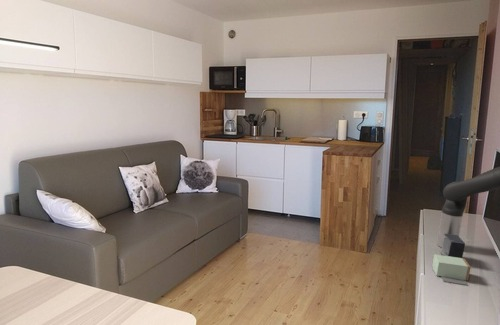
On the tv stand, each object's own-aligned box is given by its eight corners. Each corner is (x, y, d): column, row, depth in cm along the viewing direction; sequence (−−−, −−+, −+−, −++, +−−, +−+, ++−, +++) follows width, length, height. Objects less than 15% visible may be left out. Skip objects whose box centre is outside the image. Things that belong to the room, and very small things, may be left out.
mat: (435, 266, 168) (435, 265, 168) (457, 269, 167) (457, 269, 166) (443, 281, 155) (443, 280, 155) (467, 285, 153) (468, 284, 153)
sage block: (462, 271, 164) (432, 267, 167) (464, 258, 163) (434, 254, 166) (468, 280, 157) (436, 275, 159) (470, 266, 155) (438, 262, 158)
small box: (462, 265, 171) (466, 243, 169) (446, 263, 173) (450, 241, 170) (454, 255, 182) (458, 234, 179) (440, 253, 183) (443, 232, 181)
